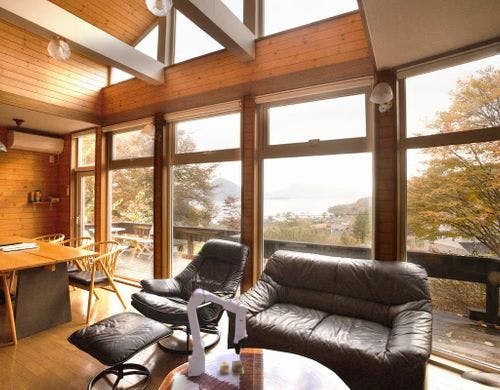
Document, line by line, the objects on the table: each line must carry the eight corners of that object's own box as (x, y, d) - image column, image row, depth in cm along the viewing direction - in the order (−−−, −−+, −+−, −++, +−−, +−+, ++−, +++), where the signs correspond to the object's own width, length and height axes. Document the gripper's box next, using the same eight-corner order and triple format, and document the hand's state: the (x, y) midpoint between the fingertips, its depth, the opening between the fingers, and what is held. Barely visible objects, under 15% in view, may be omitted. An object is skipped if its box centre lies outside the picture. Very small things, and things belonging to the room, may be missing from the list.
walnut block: (233, 373, 162) (233, 365, 162) (232, 368, 167) (232, 361, 167) (242, 372, 163) (242, 364, 163) (240, 367, 167) (241, 360, 168)
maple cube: (220, 374, 161) (220, 366, 162) (219, 370, 166) (220, 361, 166) (228, 373, 162) (229, 365, 162) (228, 369, 167) (228, 361, 167)
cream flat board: (229, 375, 160) (229, 374, 160) (228, 367, 169) (228, 366, 169) (249, 373, 162) (249, 372, 162) (247, 365, 171) (247, 364, 171)
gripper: (242, 332, 160) (242, 358, 160) (251, 322, 174) (251, 346, 173) (230, 330, 163) (230, 356, 162) (240, 321, 176) (239, 344, 176)
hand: (240, 351), depth 168 cm, fingers open, 7 cm apart
